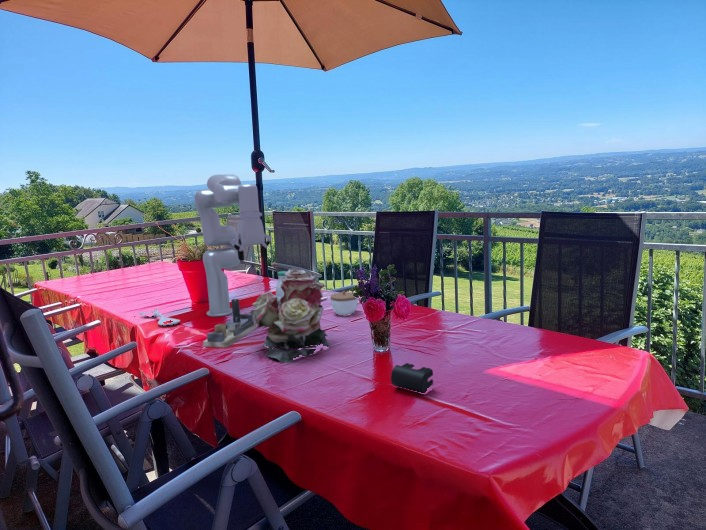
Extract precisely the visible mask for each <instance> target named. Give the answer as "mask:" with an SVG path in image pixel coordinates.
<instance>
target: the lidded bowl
mask: <svg viewBox="0 0 706 530" xmlns="http://www.w3.org/2000/svg"><path fill="white" fill-rule="evenodd" d="M352 293H353V291H352V292H351V291H349V292H347V291H346V290H343V291H341V292H336V293H332V294H331V295H330V305H331V308H332V310H333V311H334V313H336V314H339V315H348V314H352V313H353V314H354V313H355V312H356V310H357V308H358V304H359V303H358V299H359V298H355V297H354V296H353V294H352ZM353 314H352V315H353Z"/></svg>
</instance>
